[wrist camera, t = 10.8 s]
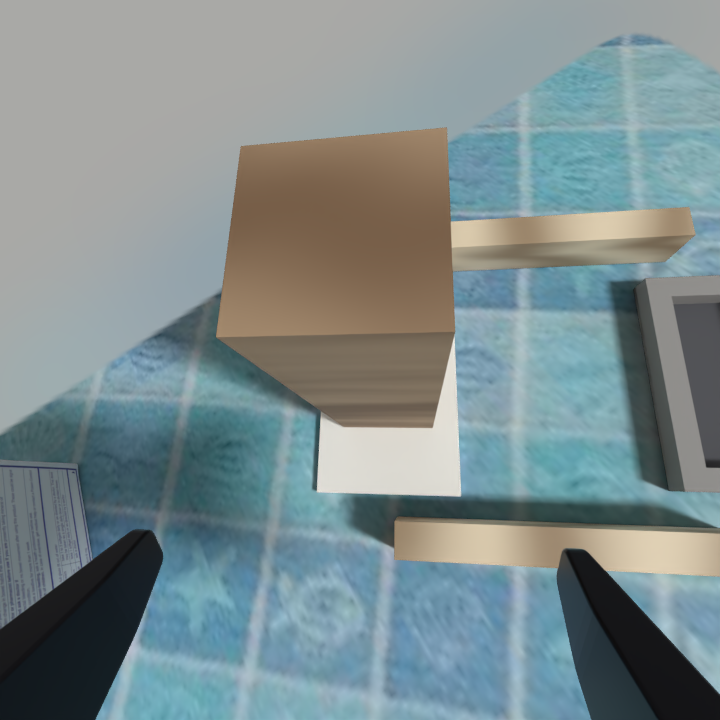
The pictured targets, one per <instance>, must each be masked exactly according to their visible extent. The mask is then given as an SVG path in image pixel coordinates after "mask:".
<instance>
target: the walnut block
mask: <svg viewBox="0 0 720 720" xmlns="http://www.w3.org/2000/svg"><path fill="white" fill-rule="evenodd" d="M454 334H455V317H454V292H453V267H452V242H451V217H450V192H449V167H448V142H447V128H436V129H425V130H414V131H403V132H393V133H381V134H371V135H359V136H348V137H337V138H326V139H315V140H304V141H294V142H282V143H271V144H260V145H249V146H241V149H240V157H239V164H238V172H237V179H236V188H235V195H234V203H233V210H232V218H231V226H230V233H229V241H228V249H227V256H226V264H225V272H224V280H223V287H222V295H221V302H220V310H219V318H218V325H217V333H216V338H218V339H219V340H220V341H222V342H223V343H225V344H226V345H228V346H229V347H230V348H232V349H233V350H235V351H236V352H238V353H239V354H240V355H242V356H243V357H245V358H246V359H248V360H249V361H250V362H252V363H253V364H255V365H256V366H257V367H259V368H260V369H262V370H263V371H265V372H266V373H267V374H269V375H270V376H272V377H273V378H275V379H276V380H277V381H279V382H280V383H282V384H283V385H285V386H286V387H287V388H289V389H290V390H292V391H293V392H294V393H296V394H297V395H299V396H300V397H302V398H303V399H304V400H306V401H307V402H309V403H310V404H312V405H313V406H314V407H316V408H317V409H319V410H320V411H322V412H323V413H324V414H326V415H327V416H329V417H330V418H331V419H333V420H334V421H336V422H337V423H339V424H340V425H341V426H343V427H370V428H433V425H434V420H435V416H436V412H437V407H438V403H439V399H440V395H441V390H442V386H443V382H444V377H445V373H446V369H447V364H448V360H449V356H450V352H451V347H452V343H453V339H454Z"/></svg>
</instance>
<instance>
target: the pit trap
mask: <svg viewBox="0 0 720 720" xmlns="http://www.w3.org/2000/svg"><path fill="white" fill-rule="evenodd" d="M634 295H635V300H636V306H637V312H638V317H639V323H640V329H641V334H642V340H643V346H644V352H645V357H646V363H647V369H648V374H649V380H650V386H651V391H652V397H653V403H654V409H655V414H656V420H657V426H658V431H659V437H660V443H661V448H662V454H663V460H664V466H665V471H666V477H667V483H668V488H669V491H684V492H720V275H717V276H692V277H667V278H645V279H644V280H643V281H642V282H641V283H640V284H639V285H638V286H636V287H635V288H634Z"/></svg>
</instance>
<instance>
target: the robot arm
mask: <svg viewBox="0 0 720 720" xmlns="http://www.w3.org/2000/svg"><path fill="white" fill-rule="evenodd" d="M162 561H163V552H162V549H161V547H160V545H159V543H158V541H157V539H156V536H155V534H154V533H153V531H151V530H144V529H135V530H132V531H131V532H129V533H128V534H126V535H125V536H124V537H122V538H121V539H120V540H118V541H117V542H116V543H114V544H113V545H112V546H110V547H109V548H108V549H106V550H105V551H104V552H102V553H101V554H100V555H98V556H97V557H96V558H94V559H93V560H92V561H90V562H89V563H88V564H86V565H85V566H84V567H82V568H81V569H80V570H78V571H77V572H76V573H74V574H73V575H72V576H70V577H69V578H68V579H66V580H65V581H64V582H62V583H61V584H60V585H58V586H57V587H56V588H54V589H53V590H52V591H50V592H49V593H48V594H46V595H45V596H44V597H42V598H41V599H40V600H38V601H37V602H36V603H34V604H33V605H32V606H30V607H29V608H28V609H26V610H25V611H24V612H22V613H21V614H20V615H18V616H17V617H16V618H14V619H13V620H12V621H10V622H9V623H8V624H6V625H5V626H4V627H2V628H1V629H0V720H95V719H96V717H97V715H98V713H99V711H100V709H101V706H102V704H103V702H104V700H105V698H106V696H107V694H108V692H109V690H110V687H111V685H112V683H113V681H114V679H115V677H116V675H117V673H118V671H119V668H120V666H121V664H122V662H123V660H124V658H125V656H126V654H127V651H128V649H129V647H130V645H131V643H132V641H133V638H134V636H135V634H136V632H137V629H138V627H139V624H140V622H141V619H142V616H143V614H144V611H145V608H146V605H147V603H148V600H149V597H150V595H151V592H152V589H153V587H154V584H155V581H156V578H157V576H158V573H159V570H160V568H161V565H162ZM557 585H558V590H559V595H560V600H561V604H562V609H563V614H564V618H565V623H566V628H567V632H568V637H569V642H570V646H571V651H572V656H573V660H574V664H575V668H576V672H577V675H578V679H579V682H580V686H581V689H582V692H583V695H584V698H585V701H586V704H587V707H588V711H589V714H590V717H591V720H720V694H719V693H718V692H717V691H716V690H715V689H714V688H713V686H712V685H711V684H710V683H709V682H708V681H707V680H706V679H705V678H704V677H703V676H702V675H701V673H700V672H699V671H698V670H697V669H696V668H695V667H694V666H693V665H692V664H691V663H690V662H689V661H688V659H687V658H686V657H685V656H684V655H683V654H682V653H681V652H680V651H679V650H678V649H677V648H676V646H675V645H674V644H673V643H672V642H671V641H670V640H669V639H668V638H667V637H666V636H665V635H664V634H663V632H662V631H661V630H660V629H659V628H658V627H657V626H656V625H655V624H654V623H653V622H652V621H651V619H650V618H649V617H648V616H647V615H646V614H645V613H644V612H643V611H642V610H641V609H640V608H639V607H638V605H637V604H636V603H635V602H634V601H633V600H632V599H631V598H630V597H629V596H628V595H627V594H626V592H625V591H624V590H623V589H622V588H621V587H620V586H619V585H618V584H617V583H616V582H615V581H614V580H613V578H612V577H611V576H610V575H609V574H608V573H607V572H606V571H605V570H604V569H603V568H602V567H601V566H600V564H599V563H598V562H597V561H596V560H595V559H594V558H593V557H592V556H591V555H590V554H589V553H588V552H587V551H586V550H584V549H576V548H565V549H563V550H562V553H561V557H560V561H559V566H558V570H557Z"/></svg>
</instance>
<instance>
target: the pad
mask: <svg viewBox="0 0 720 720" xmlns="http://www.w3.org/2000/svg"><path fill="white" fill-rule="evenodd" d="M317 492H325V493H359V494H392V495H426V496H460V497H461V483H460V459H459V435H458V411H457V387H456V363H455V339H453V343H452V347H451V352H450V356H449V360H448V364H447V369H446V373H445V377H444V382H443V386H442V390H441V395H440V399H439V403H438V407H437V412H436V416H435V420H434V425H433V428H370V427H343V426H341V425H340V424H339V423H337V422H336V421H334V420H333V419H331V418H330V417H329V416H327V415H326V414H324V413H323V412H322V411H321V420H320V440H319V459H318V479H317Z"/></svg>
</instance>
